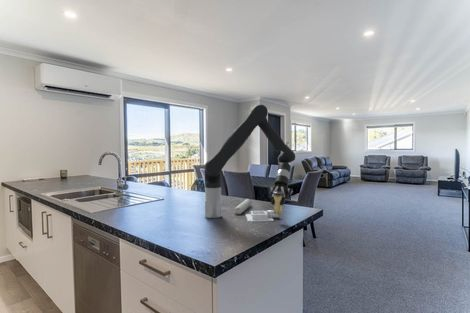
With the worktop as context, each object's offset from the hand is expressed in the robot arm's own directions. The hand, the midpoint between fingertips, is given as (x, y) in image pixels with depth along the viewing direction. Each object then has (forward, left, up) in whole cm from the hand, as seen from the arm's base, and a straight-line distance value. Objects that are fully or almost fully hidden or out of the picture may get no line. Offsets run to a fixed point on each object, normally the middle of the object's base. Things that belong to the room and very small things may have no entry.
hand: (277, 204), depth 137 cm
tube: (-16, +32, -11) cm, 37 cm away
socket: (-6, +12, -10) cm, 17 cm away
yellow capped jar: (+1, +2, -5) cm, 6 cm away
